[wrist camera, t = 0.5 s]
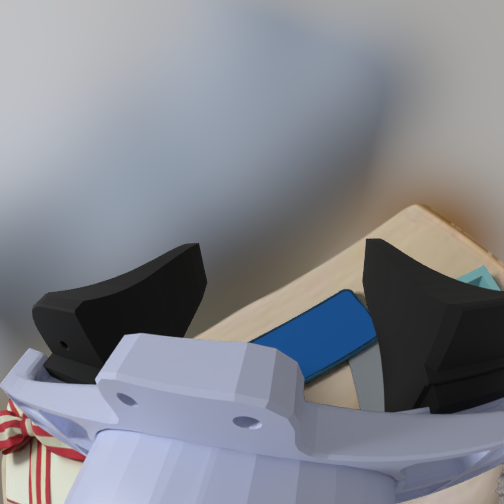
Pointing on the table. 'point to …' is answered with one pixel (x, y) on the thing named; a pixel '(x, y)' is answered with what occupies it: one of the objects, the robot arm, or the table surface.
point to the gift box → (35, 461)
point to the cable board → (369, 359)
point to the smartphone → (324, 334)
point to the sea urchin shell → (501, 487)
